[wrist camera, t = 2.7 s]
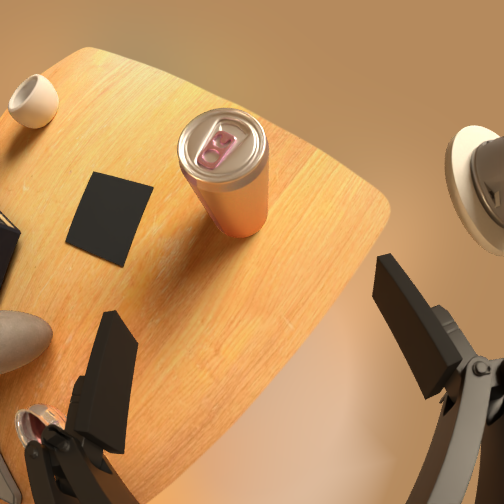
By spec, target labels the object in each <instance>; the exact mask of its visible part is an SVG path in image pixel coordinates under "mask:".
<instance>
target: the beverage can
mask: <svg viewBox="0 0 504 504" xmlns="http://www.w3.org/2000/svg"><path fill="white" fill-rule="evenodd" d="M177 153H178V158H179V164H180V168H181V171H182V173H183V174H184V176H185V178H186V179H187V181H188V182H189V184H190V185H191V187H192V189H193V190H194V192H195V193H196V195H197V196H198V198H199V200H200V201H201V203H202V204H203V206H204V207H205V209H206V210H207V212H208V214H209V215H210V217H211V218H212V220H213V221H214V223H215V224H216V226H217V227H218V229H219V230H220V231H221V232H223V233H224V234H226V235H228V236H231V237H235V238H244V237H248V236H251V235H253V234H255V233H256V232H257V231H259V230H260V229H261V228H262V226H263V225H264V223H265V221H266V219H267V215H268V181H269V145H268V141H267V138H266V136H265V133H264V130H263V128H262V126H261V125H260V123H259V122H258V121H257V120H256V119H255V118H254V117H253V116H251V115H250V114H248V113H246V112H244V111H241V110H238V109H233V108H218V109H213V110H210V111H207V112H204V113H202V114H200V115H199V116H197V117H196V118H194V119H193V120H192V121H191V122H190V123H189V124H188V125H187V126H186V127H185V128H184V130H183V131H182V133H181V135H180V138H179V141H178V146H177Z"/></svg>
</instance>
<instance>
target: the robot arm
mask: <svg viewBox="0 0 504 504" xmlns="http://www.w3.org/2000/svg"><path fill="white" fill-rule="evenodd" d="M470 171H471V178H472V182H473V186H474V189H475V191H476V194H477V196H478V199H479V201H480V203H481V205H482V206H483V208H484V210H485V211H486V213H487V214H488V215H489V217H490V218H491V219H492V220H493V221H494V222H495V223H496V224H497V225H499V226H500V227H502V228H504V137H500V138H496V139H494V140H487V141H484V142H482V143H481V144H480V145H479V146H477V147H476V148H475V149H474V151H473V153H472V155H471V160H470ZM372 297H373V299H374V301H375V303H376V304H377V306H378V308H379V310H380V312H381V313H382V315H383V317H384V319H385V321H386V322H387V324H388V326H389V328H390V329H391V331H392V333H393V335H394V337H395V339H396V341H397V343H398V345H399V347H400V349H401V351H402V353H403V354H404V356H405V358H406V360H407V362H408V364H409V366H410V368H411V370H412V372H413V374H414V377H415V379H416V381H417V382H418V385H419V387H420V389H421V391H422V393H423V395H424V398H425V400H426V399H428V398H430V397H432V396H434V395H436V394H438V393H440V392H441V390H442V389H443V388H444V387H445V389H446V391H447V392H446V393H445V395H444V396H443V397H442V398H441V400H440V402H439V403H442V402H443V401H444V402H443V406H442V409H441V413H440V417H439V420H438V423H437V426H436V430H435V433H434V436H433V439H432V442H431V445H430V448H429V450H428V453H427V456H426V458H425V461H424V464H423V466H422V469H421V471H420V473H419V476H418V478H417V480H416V483H415V485H414V487H413V489H412V491H411V494H410V496H409V498H408V500H407V502H406V504H461V502H462V500H463V497H464V495H465V492H466V490H467V486H468V484H469V481H470V478H471V475H472V472H473V469H474V466H475V463H476V459H477V456H478V451H479V448H480V444H481V457H480V470H479V478H478V486H477V493H476V499H475V504H504V358H501V359H495V360H488V359H487V358H485V357H483V356H478V355H477V354H476V353H475V351H474V350H473V348H472V347H471V345H470V343H469V342H468V341H467V339H466V337H465V336H464V335H463V333H462V331H461V330H460V329H459V328H458V325H457V324H456V322H454V319H453V318H452V316H451V315H450V313H449V312H448V311H447V310H445V309H444V308H443V307H441V306H440V305H437V306H435V307H432V308H430V306H429V305H428V303H427V302H426V301H425V299H424V298H423V296H422V295H421V293H420V292H419V291H418V289H417V288H416V286H415V285H414V284H413V283H412V281H411V280H410V278H409V277H408V276H407V274H406V273H405V272H404V270H403V269H402V268H401V266H400V265H399V264H398V262H397V261H396V260H395V259H394V257H393V256H392V255H391V253H389V254H385V255H381V256H377V263H376V272H375V280H374V288H373V295H372ZM137 349H138V342H137V341H136V340H135V338H134V337H133V335H132V334H131V332H130V331H129V329H128V328H127V327H126V325H125V324H124V322H123V321H122V319H121V318H120V316H119V314H118V313H117V311H116V310H114V311H108V312H104V313H103V316H102V319H101V322H100V325H99V328H98V331H97V335H96V338H95V341H94V345H93V348H92V352H91V355H90V359H89V363H88V366H87V370H86V374H85V376H79V378H78V379H77V381H76V383H75V384H74V388H73V392H72V396H71V401H70V402H71V403H70V405H69V409H68V414H67V419H66V424H65V429H64V430H63V429H61V428H60V427H58V426H57V425H55V424H50V425H48V426H46V427H45V428H44V429H43V431H42V434H41V443H40V442H38V441H36V440H31V441H30V442H28V443H27V445H26V447H25V460H26V466H27V472H28V477H29V482H30V486H31V490H32V495H33V499H34V502H35V504H139V502H138V501H137V500H136V499H135V497H134V496H133V495H132V494H131V492H130V491H129V490H128V488H127V487H126V485H125V484H124V483H123V481H122V480H121V479H120V477H119V476H118V474H117V473H116V471H115V470H114V468H113V467H112V465H111V464H110V462H109V461H108V459H107V458H106V457H105V455H104V454H103V449H104V450H106V451H108V452H109V453H115V454H124V449H125V437H126V427H127V418H128V409H129V401H130V394H131V386H132V380H133V373H134V367H135V361H136V355H137ZM54 476H55V478H56V481H55V478H54Z"/></svg>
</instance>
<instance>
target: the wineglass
mask: <svg viewBox="0 0 504 504" xmlns="http://www.w3.org/2000/svg"><path fill="white" fill-rule="evenodd" d="M66 419H67V417H66V416H65V415H64V414H63V413H62V412H61V411H60V410H58V409H57V408H55V407H54V406H52V405H48V404H43V403H38V404H33V405H30V406H29V407H28V408H27V409H21V410H18V412H17V413H16V415H15V428H16V431H17V434H18V437H19V439H20V441H21V443H22V445H23V446H24V448H25V447H26V445H27V443H28V442H30V441H31V440H36V441H38V442H40V443H41V434H42V431H43V429H44V428H45V427H46V426H48V425H50V424H55V425H57V426H58V427H60V428H61V429H63V430H64V429H65V424H66Z"/></svg>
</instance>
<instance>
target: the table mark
mask: <svg viewBox="0 0 504 504" xmlns="http://www.w3.org/2000/svg"><path fill="white" fill-rule="evenodd" d="M153 188H154V187H151V186H148V185H144V184H140V183H136V182H133V181H129V180H125V179H121V178H117V177H114V176H110V175H106V174H102V173H98V172H93V174H92V176H91V178H90V180H89V182H88V185H87V187H86V189H85V191H84V194H83V196H82V199H81V201H80V203H79V206H78V208H77V211H76V213H75V216H74V219H73V221H72V224H71V227H70V229H69V232H68V235H67V238H66V242H68V243H70V244H72V245H74V246H76V247H79V248H81V249H83V250H85V251H88V252H90V253H92V254H94V255H97V256H99V257H101V258H104V259H106V260H108V261H111V262H113V263H115V264H118V265H120V266H122V267H123V266H124V263H125V260H126V258H127V255H128V252H129V249H130V246H131V244H132V241H133V238H134V235H135V233H136V230H137V228H138V225H139V222H140V220H141V217H142V215H143V212H144V210H145V207H146V205H147V203H148V200H149V198H150V195H151V193H152V191H153Z"/></svg>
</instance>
